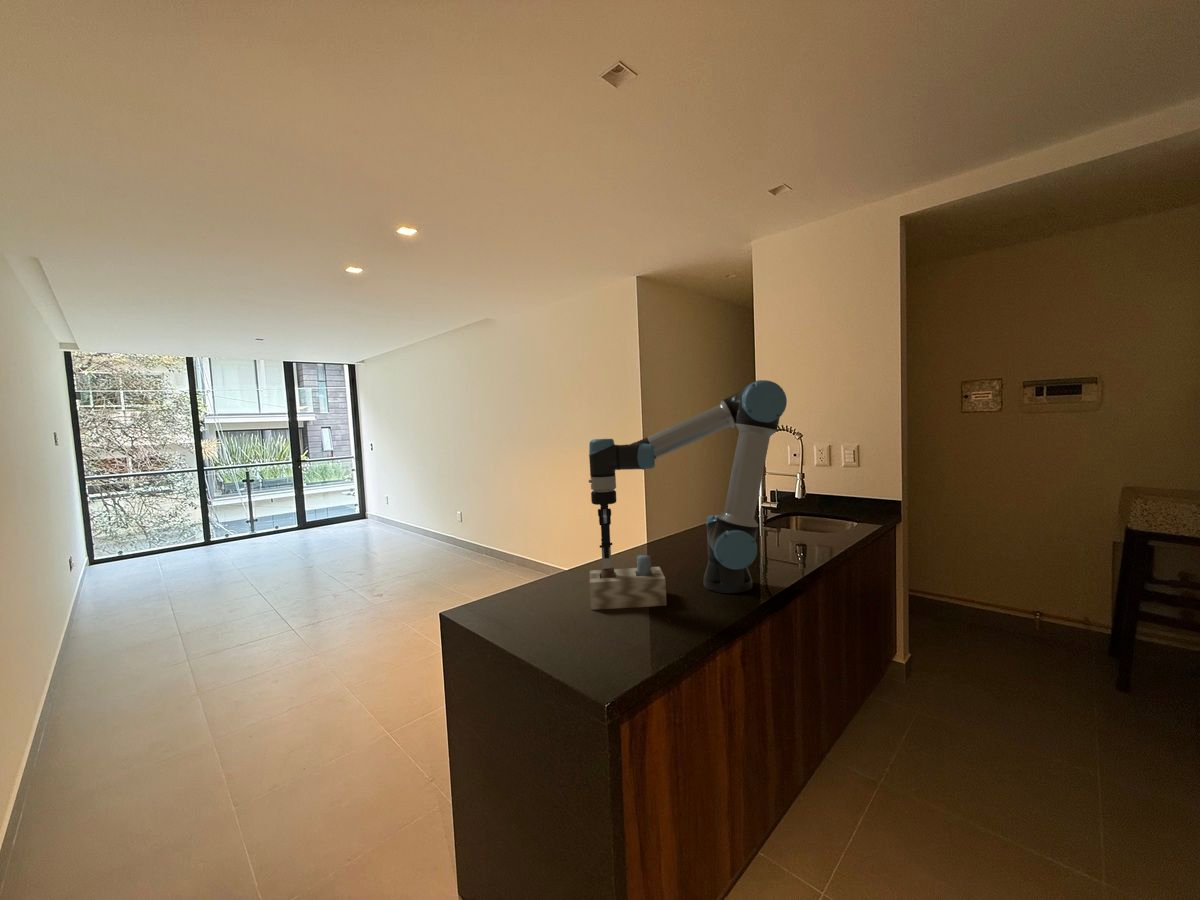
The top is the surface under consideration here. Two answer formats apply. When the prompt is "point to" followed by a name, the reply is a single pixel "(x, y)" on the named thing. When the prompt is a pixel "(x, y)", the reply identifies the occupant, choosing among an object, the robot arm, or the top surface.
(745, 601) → the top surface
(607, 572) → the walnut peg
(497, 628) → the top surface
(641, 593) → the birch block
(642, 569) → the blue peg
